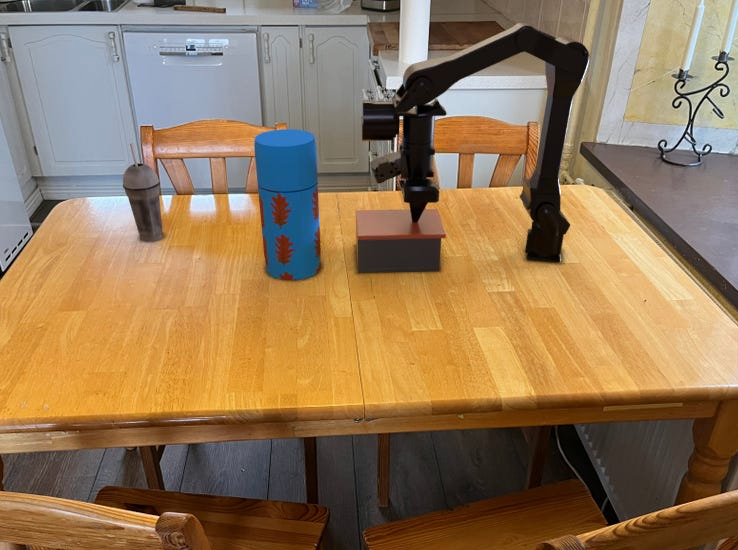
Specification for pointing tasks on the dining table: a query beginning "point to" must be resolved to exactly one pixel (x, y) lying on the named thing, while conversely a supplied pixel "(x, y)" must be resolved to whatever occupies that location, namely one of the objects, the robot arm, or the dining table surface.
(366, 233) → the lid
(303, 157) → the thermos
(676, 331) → the dining table surface
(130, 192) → the beverage cup
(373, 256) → the box
